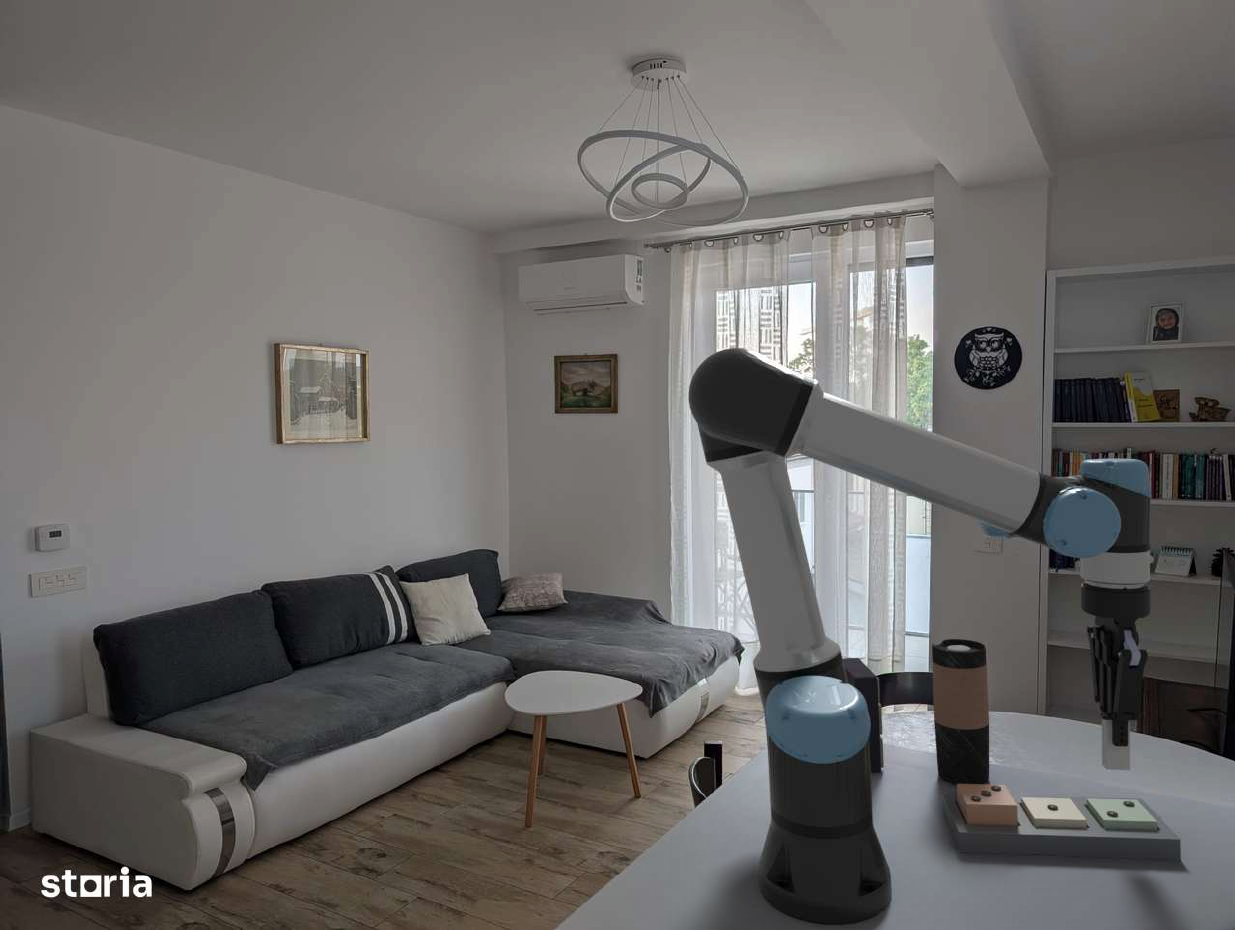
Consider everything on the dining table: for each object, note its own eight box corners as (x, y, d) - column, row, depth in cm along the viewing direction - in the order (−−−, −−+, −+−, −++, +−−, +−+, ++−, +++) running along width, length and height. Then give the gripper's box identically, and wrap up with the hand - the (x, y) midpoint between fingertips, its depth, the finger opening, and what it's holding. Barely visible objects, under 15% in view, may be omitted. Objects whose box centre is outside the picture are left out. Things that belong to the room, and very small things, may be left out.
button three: (967, 826, 108) (966, 802, 108) (957, 805, 114) (956, 782, 114) (1017, 828, 107) (1017, 803, 107) (1005, 806, 113) (1004, 783, 113)
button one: (1035, 841, 107) (1034, 816, 107) (1021, 819, 113) (1021, 795, 113) (1087, 843, 106) (1086, 818, 106) (1070, 820, 112) (1070, 796, 112)
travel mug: (996, 788, 123) (992, 652, 122) (940, 787, 124) (935, 652, 123) (984, 767, 130) (980, 638, 129) (932, 765, 132) (927, 638, 131)
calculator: (886, 772, 130) (882, 676, 130) (858, 774, 130) (854, 678, 130) (866, 745, 141) (862, 656, 141) (840, 746, 141) (836, 658, 141)
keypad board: (959, 851, 106) (959, 832, 106) (942, 811, 117) (942, 793, 117) (1180, 859, 102) (1180, 839, 101) (1142, 816, 112) (1141, 798, 112)
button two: (1104, 843, 105) (1103, 818, 105) (1087, 820, 111) (1086, 796, 111) (1157, 845, 104) (1157, 819, 104) (1137, 822, 110) (1136, 798, 110)
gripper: (1172, 593, 99) (1172, 791, 100) (1126, 572, 112) (1127, 748, 113) (1102, 593, 100) (1103, 788, 102) (1065, 572, 113) (1066, 746, 115)
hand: (1115, 767), depth 107 cm, fingers closed
